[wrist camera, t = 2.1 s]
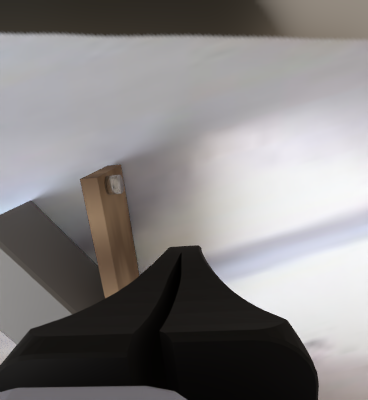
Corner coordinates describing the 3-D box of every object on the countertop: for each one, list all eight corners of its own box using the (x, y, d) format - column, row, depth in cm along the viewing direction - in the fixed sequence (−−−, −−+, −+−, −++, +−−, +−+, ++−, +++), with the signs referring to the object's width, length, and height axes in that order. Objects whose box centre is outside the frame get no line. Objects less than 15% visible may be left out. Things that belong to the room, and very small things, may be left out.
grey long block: (134, 302, 24) (115, 354, 18) (95, 331, 25) (66, 387, 20) (30, 200, 21) (-24, 226, 16) (-7, 237, 23) (-69, 272, 17)
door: (152, 302, 23) (140, 346, 19) (132, 303, 23) (115, 347, 19) (131, 163, 20) (110, 176, 15) (107, 165, 20) (79, 179, 15)
